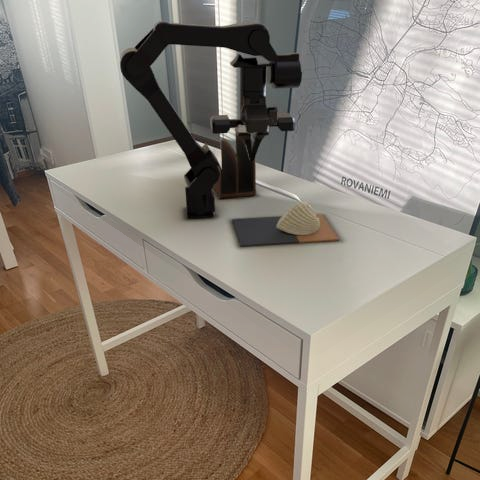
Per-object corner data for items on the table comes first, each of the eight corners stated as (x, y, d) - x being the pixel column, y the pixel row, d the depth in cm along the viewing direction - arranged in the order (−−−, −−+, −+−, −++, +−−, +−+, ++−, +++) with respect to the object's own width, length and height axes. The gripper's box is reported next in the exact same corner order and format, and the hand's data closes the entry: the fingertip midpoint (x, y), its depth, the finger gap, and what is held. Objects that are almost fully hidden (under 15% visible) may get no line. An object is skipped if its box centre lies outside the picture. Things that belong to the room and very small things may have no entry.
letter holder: (238, 172, 145) (238, 122, 137) (256, 195, 130) (257, 141, 122) (205, 175, 143) (203, 124, 135) (219, 199, 128) (218, 144, 120)
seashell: (330, 225, 108) (306, 214, 103) (304, 249, 113) (280, 239, 108) (318, 199, 112) (294, 188, 107) (294, 223, 117) (270, 213, 112)
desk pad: (240, 246, 105) (240, 245, 105) (232, 220, 116) (232, 219, 116) (338, 240, 108) (339, 238, 107) (321, 215, 119) (321, 214, 119)
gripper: (213, 98, 99) (215, 174, 108) (303, 95, 101) (298, 170, 110) (209, 88, 108) (211, 158, 117) (291, 85, 110) (287, 155, 119)
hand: (251, 161), depth 115 cm, fingers closed
